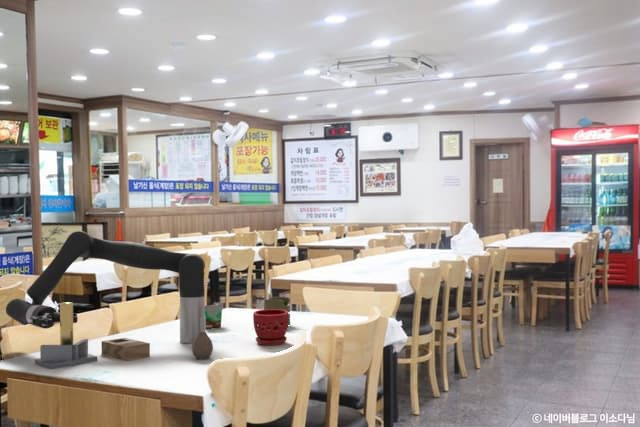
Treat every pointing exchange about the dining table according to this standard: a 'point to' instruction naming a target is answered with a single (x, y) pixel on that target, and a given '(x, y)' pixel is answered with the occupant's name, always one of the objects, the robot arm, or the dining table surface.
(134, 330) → the dining table surface
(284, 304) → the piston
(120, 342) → the brown wooden box
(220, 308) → the food container
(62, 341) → the axle
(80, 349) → the v block
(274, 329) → the plant pot
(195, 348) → the vase
